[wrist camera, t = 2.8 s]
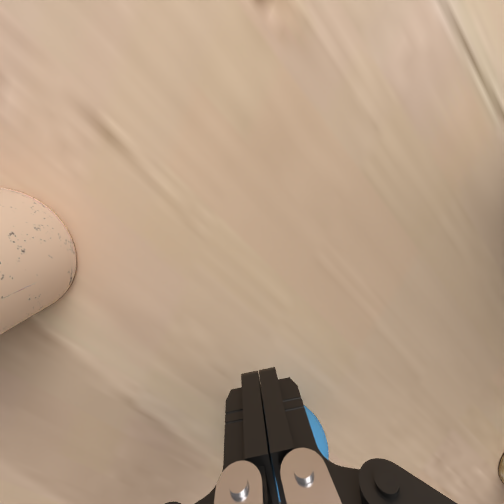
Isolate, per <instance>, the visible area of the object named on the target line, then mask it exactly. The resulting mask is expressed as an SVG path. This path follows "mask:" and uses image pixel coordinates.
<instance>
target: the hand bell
mask: <svg viewBox="0 0 504 504" xmlns="http://www.w3.org/2000/svg"><path fill="white" fill-rule="evenodd" d="M499 476H500V478H501V480H502V482H503V483H504V454H503V456H502V458H501V461H500V466H499Z"/></svg>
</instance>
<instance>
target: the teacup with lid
mask: <svg viewBox="0 0 504 504" xmlns="http://www.w3.org/2000/svg"><path fill="white" fill-rule="evenodd" d="M75 271H76V251H75V246H74V243H73V240H72V238H71V235H70V233H69V232H68V230H67V228H66V227H65V225H64V224H63V222H62V221H61V220H60V218H59V217H58V216H57V215H56V214H55V213H54V212H53V211H52V210H51V209H50V208H48V207H47V206H46V205H44V204H43V203H41V202H40V201H38V200H37V199H35V198H33V197H31V196H29V195H27V194H25V193H22V192H19V191H16V190H12V189H7V188H1V187H0V335H1V334H2V333H4V332H6V331H7V330H9V329H11V328H12V327H14V326H16V325H17V324H19V323H21V322H22V321H24V320H26V319H27V318H29V317H31V316H33V315H34V314H36V313H38V312H39V311H41V310H43V309H44V308H46V307H48V306H49V305H51V304H53V303H54V302H56V301H57V300H58V299H60V298H61V297H62V296H63V295H64V294H65V292H66V291H67V290H68V288H69V287H70V285H71V283H72V281H73V278H74V275H75Z"/></svg>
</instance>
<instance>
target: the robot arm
mask: <svg viewBox="0 0 504 504" xmlns="http://www.w3.org/2000/svg"><path fill="white" fill-rule="evenodd" d="M259 375H260V379H259ZM241 380H242V387H241V388H236V389H232V390H231V391H230V393H229V395H228V397H227V400H226V415H225V439H224V465H223V471H222V473H221V475H220V477H219V479H218V482H217V485H216V486H215V488H214V489H213V490H212V491H211V492H210V493H209V494H208V495H207V496H206V497H204V498H203V499H201V500H200V501H198V502H197V503H195V504H279V498H278V491H279V496H280V501H281V504H457V503H455V502H454V501H452V500H451V499H449V498H448V497H446V496H444V495H443V494H441V493H440V492H438V491H437V490H435V489H434V488H432V487H430V486H429V485H427V484H426V483H424V482H423V481H421V480H420V479H418V478H417V477H415V476H413V475H412V474H410V473H409V472H407V471H406V470H404V469H403V468H401V467H399V466H398V465H396V464H395V463H393V462H391V461H388V460H385V459H379V458H376V459H371V460H368V461H366V462H365V463H364V464H363V465H362V467H361V469H360V470H359V469H352V468H346V467H341V466H338V465H335V464H334V463H332V462H330V461H329V460H327V459H326V458H325V457H324V456H323V455H322V453H321V452H320V450H319V449H318V447H317V444H316V441H315V438H314V435H313V432H312V429H311V426H310V423H309V420H308V417H307V414H306V411H305V408H304V405H303V402H302V399H301V396H300V393H299V389H298V386H297V385H296V384H295V383H294V382H293V381H292V380H291V379H290V377H289V378H284V379H279V380H278V378H277V374H276V370H275V367H272V368H268V369H263V370H259V374H258V371H253V372H249V373H244V374H241ZM260 382H261V384H260ZM276 482H277V484H276ZM277 486H278V491H277ZM165 504H181V503H178V502H168V503H165Z"/></svg>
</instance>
